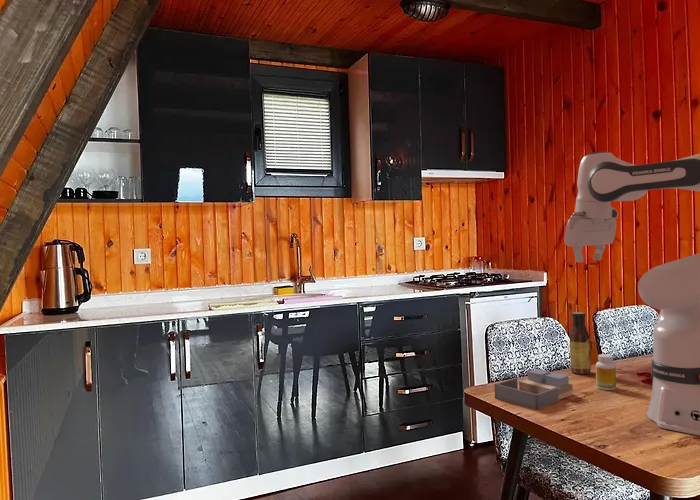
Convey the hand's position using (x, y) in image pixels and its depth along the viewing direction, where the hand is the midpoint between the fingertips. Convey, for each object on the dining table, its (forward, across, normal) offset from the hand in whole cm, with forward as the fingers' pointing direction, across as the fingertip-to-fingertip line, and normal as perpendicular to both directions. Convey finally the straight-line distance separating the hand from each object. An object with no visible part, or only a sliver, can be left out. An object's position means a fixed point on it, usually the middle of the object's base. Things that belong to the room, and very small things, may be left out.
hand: (588, 261), depth 150 cm
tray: (+40, -15, +7) cm, 43 cm away
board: (+40, -5, +7) cm, 41 cm away
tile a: (+36, -4, +4) cm, 37 cm away
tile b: (+37, -4, +10) cm, 39 cm away
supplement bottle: (+39, +12, -2) cm, 41 cm away
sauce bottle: (+40, +22, +12) cm, 48 cm away
